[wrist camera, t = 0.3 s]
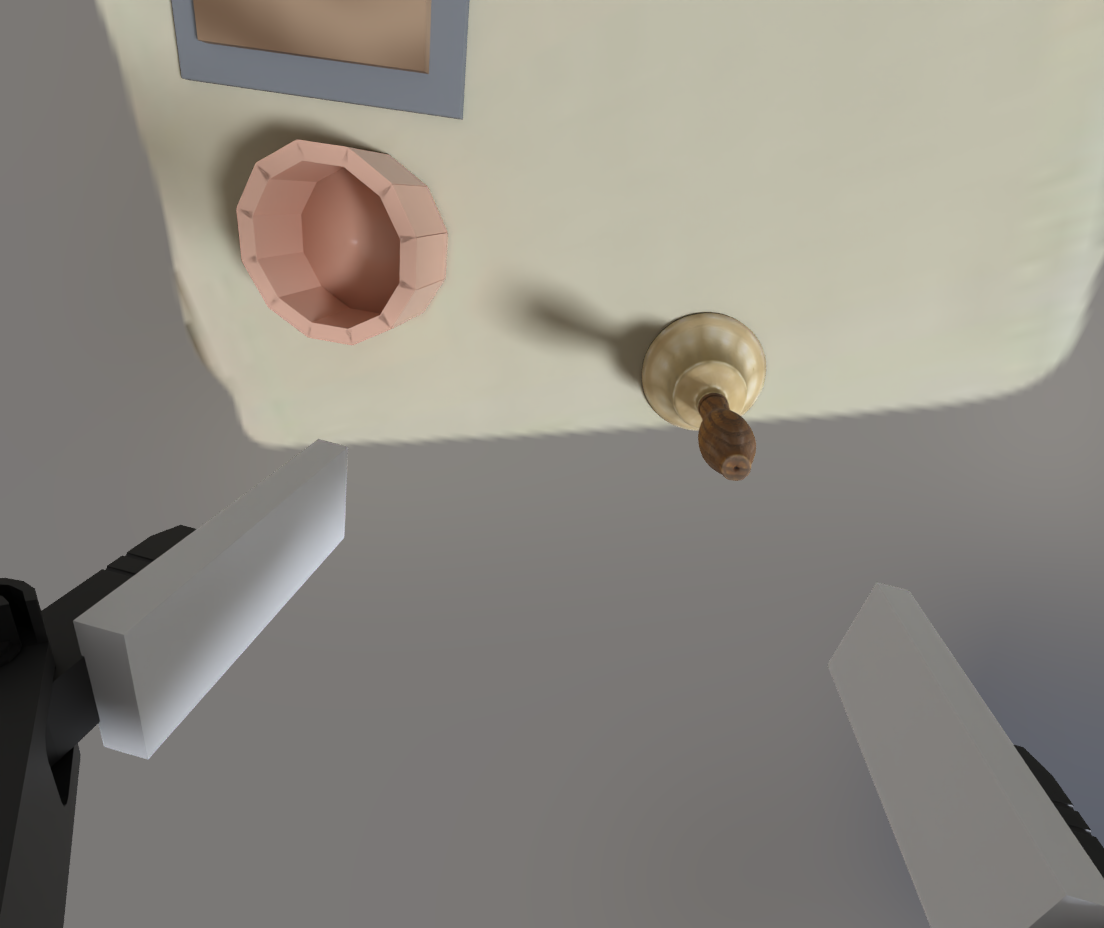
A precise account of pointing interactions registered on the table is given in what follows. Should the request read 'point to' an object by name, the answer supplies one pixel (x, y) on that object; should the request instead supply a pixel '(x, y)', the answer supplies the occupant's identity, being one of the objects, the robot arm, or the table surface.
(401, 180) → the terracotta bowl
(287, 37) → the walnut lid
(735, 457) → the hand bell
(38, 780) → the robot arm
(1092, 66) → the table surface
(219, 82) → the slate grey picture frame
